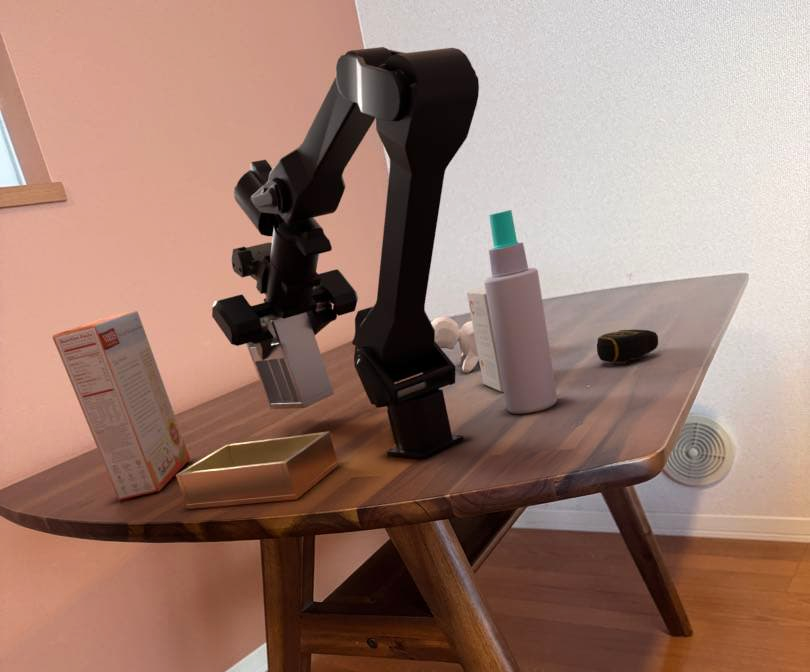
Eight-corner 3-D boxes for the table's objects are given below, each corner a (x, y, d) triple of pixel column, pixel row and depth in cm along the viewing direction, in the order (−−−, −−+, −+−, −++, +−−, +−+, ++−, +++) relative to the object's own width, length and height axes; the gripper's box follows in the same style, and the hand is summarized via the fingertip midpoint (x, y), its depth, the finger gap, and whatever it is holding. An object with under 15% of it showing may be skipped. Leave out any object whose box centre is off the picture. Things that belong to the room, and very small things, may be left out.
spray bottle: (552, 411, 89) (520, 208, 81) (501, 417, 91) (466, 221, 83) (562, 397, 94) (533, 204, 86) (514, 403, 96) (481, 216, 88)
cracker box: (152, 468, 108) (97, 318, 101) (192, 460, 108) (140, 308, 100) (114, 502, 96) (48, 333, 88) (160, 493, 95) (97, 321, 87)
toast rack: (334, 394, 107) (305, 307, 103) (304, 408, 104) (272, 320, 100) (299, 395, 114) (271, 315, 109) (270, 409, 111) (239, 326, 107)
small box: (545, 381, 104) (529, 281, 99) (501, 393, 103) (483, 293, 98) (524, 373, 111) (508, 280, 106) (482, 384, 110) (465, 291, 105)
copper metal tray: (338, 465, 88) (329, 431, 87) (296, 499, 80) (286, 462, 78) (236, 476, 94) (226, 444, 92) (187, 509, 85) (175, 474, 84)
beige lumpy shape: (511, 371, 129) (423, 357, 128) (522, 319, 126) (431, 304, 125) (518, 381, 121) (423, 365, 120) (530, 326, 118) (433, 310, 117)
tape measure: (662, 354, 102) (660, 326, 101) (623, 368, 100) (620, 339, 98) (625, 353, 108) (622, 326, 107) (588, 366, 106) (584, 339, 104)
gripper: (324, 204, 101) (308, 296, 114) (192, 233, 92) (191, 328, 105) (370, 260, 97) (348, 348, 110) (237, 296, 89) (230, 387, 102)
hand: (280, 351), depth 107 cm, fingers closed on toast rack, 6 cm apart
